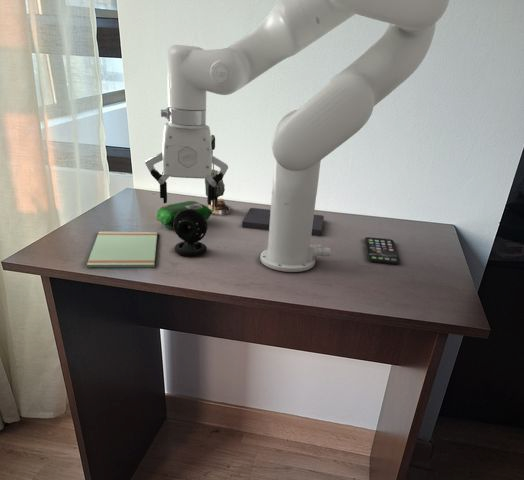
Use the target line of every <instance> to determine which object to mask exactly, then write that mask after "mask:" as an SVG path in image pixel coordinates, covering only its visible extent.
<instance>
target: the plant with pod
mask: <svg viewBox="0 0 524 480" xmlns="http://www.w3.org/2000/svg"><path fill="white" fill-rule="evenodd" d="M211 146H212V155H213V154H214V151H215V149H216V136H215V134H211ZM213 156H214V155H213ZM218 172H219V170H216V169H215V164H213V163H212V172H211V175H212V176H213V177H214V176H215V175H216V174H217V173H218ZM208 183H209V182H208V181H207V180H206V178H204V185H205V187H204V188H205V196H206V197H207V189H208ZM225 185H226V184H225V182H224V178H223V179H222V180H220V181H219V182H218V183H217V184H216V186H215V191H214V200H211V205H209V204H208V203H207V205H206V206H207V207H208V208H209V209H211V210H212V214H211V215H216V216H222V215H223V216H224V215H226V214H229V213H230V212H231V207H230V205H228V204H226V202H225V200H224V199H223V198H220V197H223V196H224V195H225V194H224V193H225V190H226V188H225V187H226V186H225ZM218 198H219V199H218Z"/></svg>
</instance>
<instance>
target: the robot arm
mask: <svg viewBox="0 0 524 480" xmlns="http://www.w3.org/2000/svg"><path fill="white" fill-rule="evenodd" d="M449 3H450V0H279V1H278V2H277V3H276V4H275V5H273V7H272V9H271V10H270V11H269V12H268V14H267V15H266V17H265V18H264V19H263V20H262V21H261V22H259V24H257V25H256V26H255V27H253V29H251V30H250V31H249V32H247V33H246V34H245V35H243V36H242V37H240V38H238V40H236V41H235V42H233V43H231V44H230V45H229V46H227V47H224V48H216V49H215V48H214V49H204V48H202V47H199V46H194V45H186V44H183V45H182V44H173V45H170V46H169V47H168V49H167V52H166V69H167V70H166V72H167V107H166V108H164V109H160V117H161V118H165V119H166V120H168V121H167V122H165V124H164V128H163V134H162V152H160V153H158V154H156V155H154V156H151V157H150V158H147V159H145V166H146V168H147V169H148V171H149V173H150V175H151V176H152V177H153V178H154V180H156V181H157V183H158V184H159V197H160V198H159V199H163V204H167V203H168V183H167V180H168V179H169V178H182V179H202V180H203V179H205V178H206V180H207V181H208V182H209V183H208V189H207V196H206V198H207V199H206V201H207V205H208V204H209V205H211V200H214V191H215V186H216V184H217V183H218V182H219V181H220V180H222V179H223V180H224V176H225V175H226V173H227V171H228V170H229V165H228V164H227V163H226V162H224V161H223V160H221V159H219V158H218V157H216V156H214V155H212V151H213V150H212V146H211V135H212V134H211V128H210V126H209V125H207V124H206V123H207V92H209V93H211V94H216V95H221V96H229V95H231V94H234V93H235V92H237V91H238V90H239V91H240V90H241V89H242V88H244V87H245V86H246V85H248V84H250V83H251V82H253V81H254V80H255V79H257V78H258V77H260V76H261V75H263V74H265V73H266V72H267V71H269V70H270V69H272V68H273V67H275V66H276V65H279V63H281V62H282V61H284V60H286V59H289V58H290V57H291V58H292V57H293V56H295V55H297V54H299V53H300V52H301V51H303V50H304V49H306V48H307V47H309V46H310V45H312V44H313V43H315V42H316V41H318V40H319V39H321V38H322V37H324V36H325V35H327V34H328V33H329V32H332V30H334V29H335V28H337V27H338V26H340V25H342V24H343V23H344V22H346V21H348V20H349V19H350V18H352V17H353V16H355V15H358V16H361V17H365V18H368V19H372V20H375V21H379V22H384V23H387V24H388V26H387V28H386V31H385V32H384V33H383V35H382V36H381V37H380V38H379V39H378V40H376V42H375V43H374V44H372V45H371V46H370V47H369V48H368V49H367V50H366V51H365V52H364V53H362V54H361V55H360V56H359V57H358V58H356V60H354V61H353V62H352V63H350V64H349V65H348V66H347V67H345V68H344V69H343V70H342V71H340V72H338V73H336V74H335V75H334V76H332V77H331V78H330V79H329V80H328V81H327V83H326V84H325V85H324V86H323V88H321V89H320V90H319V91H317V93H315V94H314V95H313V96H312V97H310V99H308V100H307V101H306V102H305V103H304V104H303V105H301V106H300V107H299V108H297V109H293V110H292V111H289V112H288V113H286V114H285V115H284V116H283V117H282V118H281V119H280V121H279V123H278V124H277V126H276V128H275V130H274V132H273V134H272V138H271V150H272V155H273V158H274V163H273V175H272V185H271V186H272V189H271V199H270V210H271V212H270V226H269V230H268V240H267V248H266V249H263V251H262V252H261V253H260V258H259V259H260V262H261V263H262V264H263V266H265V267H267V268H269V269H272V270H275V271H279V272H284V273H299V272H300V273H301V272H305V271H309V270H310V269H312V268H313V267H314V266H315V264H316V258H317V257H330V255H331V248H330V247H323V245H322V244H313V243H312V236H313V235H312V226H313V218H314V214H315V210H316V202H317V194H318V186H319V178H320V170H321V161H322V160H323V159H324V158H326V157H327V156H328V155H329V154H331V153H332V152H334V151H335V150H336V149H338V148H339V147H340V146H342V145H343V144H345V143H346V142H347V141H348V140H349V139H351V138H352V137H353V136H355V135H356V134H357V133H358V132H359V131H360V130H361V129H362V128H363V127H364V126H366V124H367V123H368V121H369V120H370V118H371V116H372V114H373V111H374V107H376V105H378V104H379V103H380V102H381V101H383V100H384V99H385V98H386V97H387V96H389V95H390V94H391V93H392V92H393V91H395V90H396V89H397V88H398V87H399V86H401V85H402V84H403V83H405V82H406V80H407V79H408V78H410V77H411V76H412V75H413V74H414V73H415V71H416V70H418V68H419V67H420V65H421V64H422V63H423V62H424V59H425V57H426V56H427V54H428V52H429V49H430V47H431V45H432V42H433V39H434V35H435V31H436V25H437V23H438V22H439V20H440V19H441V18H442V17H443V15H445V12H446V10H447V8H448V6H449ZM160 162H162V173H160V172H159V171H158V170H157V169H156V167H155V165H156V164H158V163H160ZM213 164H214V166H216V167H218V168H219V170H218V173H217V174H216V175H215V176H214V177H213V176H212V175H211V172H212V169H213Z"/></svg>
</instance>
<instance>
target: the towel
mask: <svg viewBox="0 0 524 480" xmlns="http://www.w3.org/2000/svg"><path fill="white" fill-rule="evenodd" d="M157 243H158V232H157V231H98V233H97V236H96V239H95V242H94V244H93V247H92V249H91V251H90V255H89V258H88V260H87V262H86V268H155V266H156V256H157V255H156V253H157V245H158V244H157Z"/></svg>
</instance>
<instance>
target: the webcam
mask: <svg viewBox="0 0 524 480" xmlns="http://www.w3.org/2000/svg"><path fill="white" fill-rule="evenodd" d="M207 223H208V222H207V220H205V217H204V216H203V215H202V214H201V213H200V212H198V211H197V210H194V209H184V210H181V211H179V212H178V213H177V214H176V216H175V218H174V222H173V226H174V229H173V230H174V232H175V234H176V235H177V237H178V238H179V239H180V240H182V241H180V242H177V243H176V244H175V245H174V247H173V249H174V252H175V253H176V254H177V255H179V256H181V257H184V258H185V257H186V258H195V257H201V256H203V255H205V254H206V253H207V251H208V247H207V244H205V243H203V242H201V240H203V239H204V237H205V236H206V234H207V231H208V224H207ZM196 248H198V249H196Z"/></svg>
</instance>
